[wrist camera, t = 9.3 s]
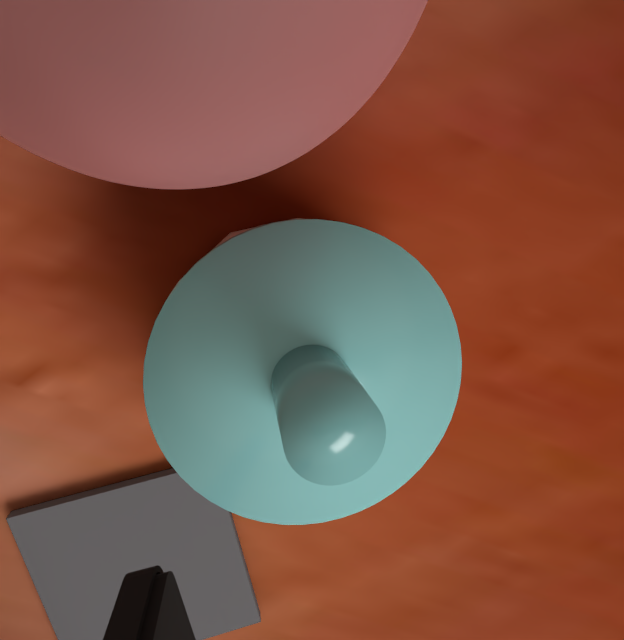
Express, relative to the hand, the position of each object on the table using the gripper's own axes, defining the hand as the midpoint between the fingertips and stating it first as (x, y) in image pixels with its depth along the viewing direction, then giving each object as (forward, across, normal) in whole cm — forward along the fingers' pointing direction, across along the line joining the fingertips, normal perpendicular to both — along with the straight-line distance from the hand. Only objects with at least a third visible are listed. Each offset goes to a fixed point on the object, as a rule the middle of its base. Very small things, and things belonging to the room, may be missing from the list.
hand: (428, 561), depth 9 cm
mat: (+15, +11, +10) cm, 21 cm away
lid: (+11, +1, 0) cm, 11 cm away
